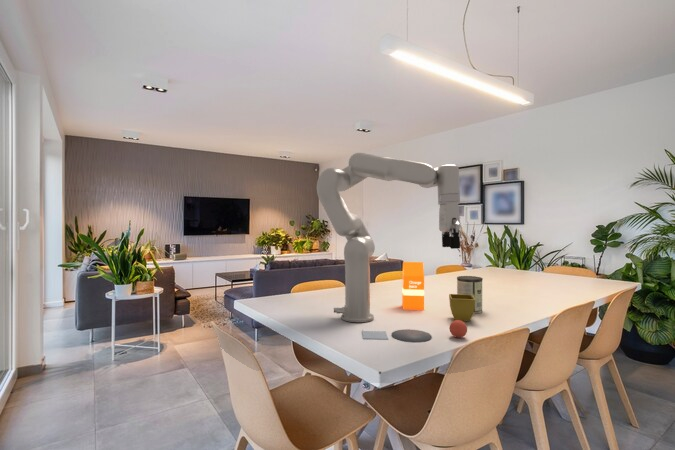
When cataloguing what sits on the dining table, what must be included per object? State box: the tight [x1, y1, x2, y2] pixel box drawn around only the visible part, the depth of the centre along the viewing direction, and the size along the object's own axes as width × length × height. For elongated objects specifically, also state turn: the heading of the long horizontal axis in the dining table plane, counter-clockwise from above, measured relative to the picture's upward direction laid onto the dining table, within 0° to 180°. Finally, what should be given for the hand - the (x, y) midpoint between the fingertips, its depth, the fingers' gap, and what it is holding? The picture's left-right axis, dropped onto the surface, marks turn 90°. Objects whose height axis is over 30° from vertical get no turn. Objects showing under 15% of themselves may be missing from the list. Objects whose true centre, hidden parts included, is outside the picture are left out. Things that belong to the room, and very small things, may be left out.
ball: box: [448, 319, 468, 339], centre depth 119 cm, size 6×6×6 cm
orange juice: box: [401, 261, 425, 311], centre depth 161 cm, size 8×9×20 cm
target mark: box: [390, 328, 433, 343], centre depth 121 cm, size 13×13×1 cm
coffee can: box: [456, 275, 484, 314], centre depth 156 cm, size 10×10×14 cm
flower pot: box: [448, 293, 475, 322], centre depth 141 cm, size 9×9×9 cm
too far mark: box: [361, 330, 389, 340], centre depth 121 cm, size 8×8×1 cm
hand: (450, 247), depth 131 cm, fingers open, 9 cm apart
